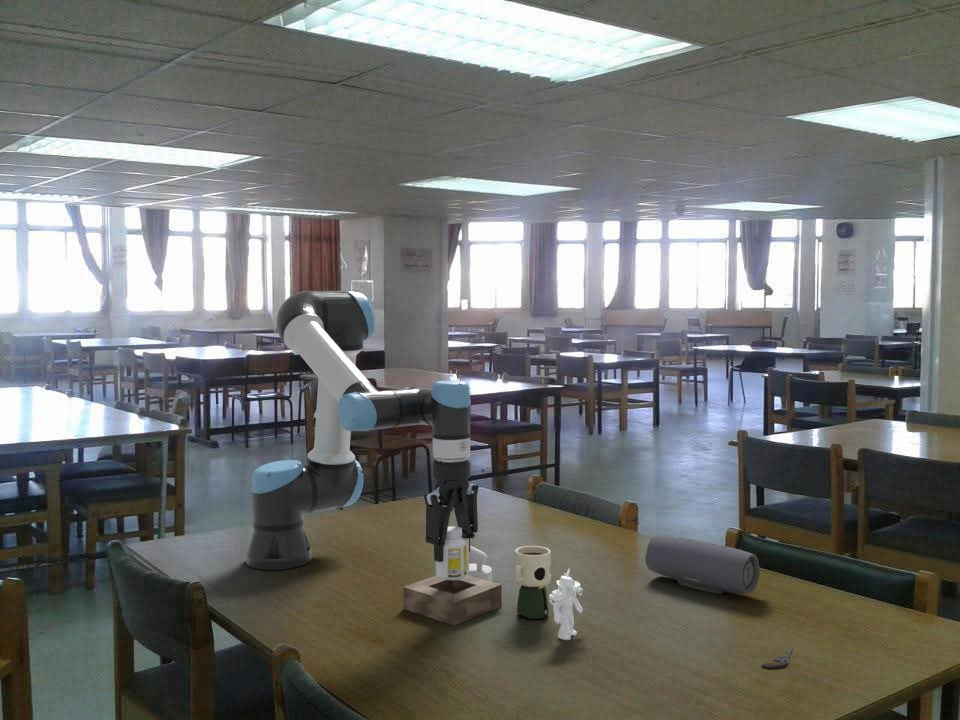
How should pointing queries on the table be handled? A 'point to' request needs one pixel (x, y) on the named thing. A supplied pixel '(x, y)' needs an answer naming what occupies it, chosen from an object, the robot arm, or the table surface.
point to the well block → (452, 598)
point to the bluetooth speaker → (703, 564)
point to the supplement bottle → (456, 554)
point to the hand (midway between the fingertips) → (452, 572)
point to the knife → (782, 661)
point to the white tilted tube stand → (479, 565)
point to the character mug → (532, 580)
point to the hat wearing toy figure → (566, 605)
